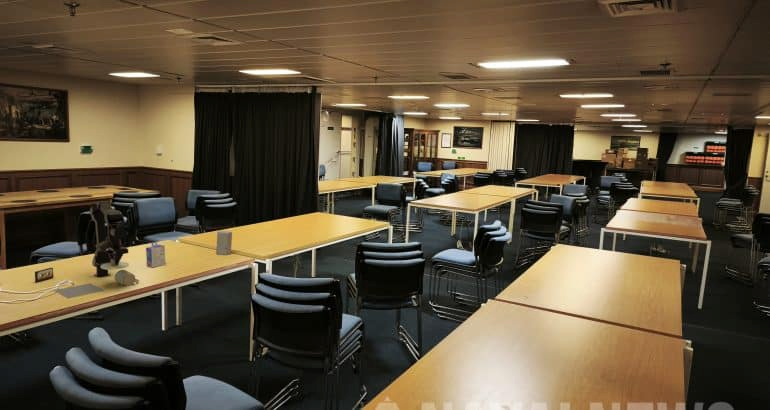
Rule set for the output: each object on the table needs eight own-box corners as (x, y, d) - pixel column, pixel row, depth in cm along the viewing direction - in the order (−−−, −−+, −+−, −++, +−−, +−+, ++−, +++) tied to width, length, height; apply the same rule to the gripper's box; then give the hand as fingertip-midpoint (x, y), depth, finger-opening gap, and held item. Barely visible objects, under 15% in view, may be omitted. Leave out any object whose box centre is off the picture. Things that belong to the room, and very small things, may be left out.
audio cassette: (51, 278, 256) (51, 267, 255) (53, 278, 255) (53, 267, 255) (34, 282, 247) (34, 271, 246) (36, 283, 246) (36, 272, 246)
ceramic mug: (123, 288, 245) (123, 273, 244) (114, 284, 249) (114, 271, 249) (142, 283, 255) (142, 269, 254) (133, 280, 259) (133, 267, 258)
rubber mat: (53, 291, 235) (53, 290, 235) (90, 283, 249) (90, 283, 249) (67, 299, 226) (67, 298, 226) (105, 291, 239) (105, 290, 239)
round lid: (96, 266, 245) (95, 258, 244) (122, 261, 255) (121, 254, 255) (107, 271, 237) (106, 263, 237) (133, 266, 248) (133, 258, 247)
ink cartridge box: (159, 263, 294) (159, 240, 292) (165, 264, 292) (165, 241, 290) (145, 266, 285) (145, 243, 283) (152, 268, 283) (151, 244, 281)
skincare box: (215, 254, 322) (215, 231, 320) (221, 251, 329) (221, 230, 327) (227, 255, 321) (227, 232, 319) (232, 253, 328) (232, 231, 326)
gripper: (89, 234, 243) (90, 263, 245) (105, 240, 232) (106, 270, 234) (112, 231, 252) (113, 259, 254) (128, 237, 241) (129, 266, 243)
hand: (115, 264), depth 246 cm, fingers closed on round lid, 4 cm apart
